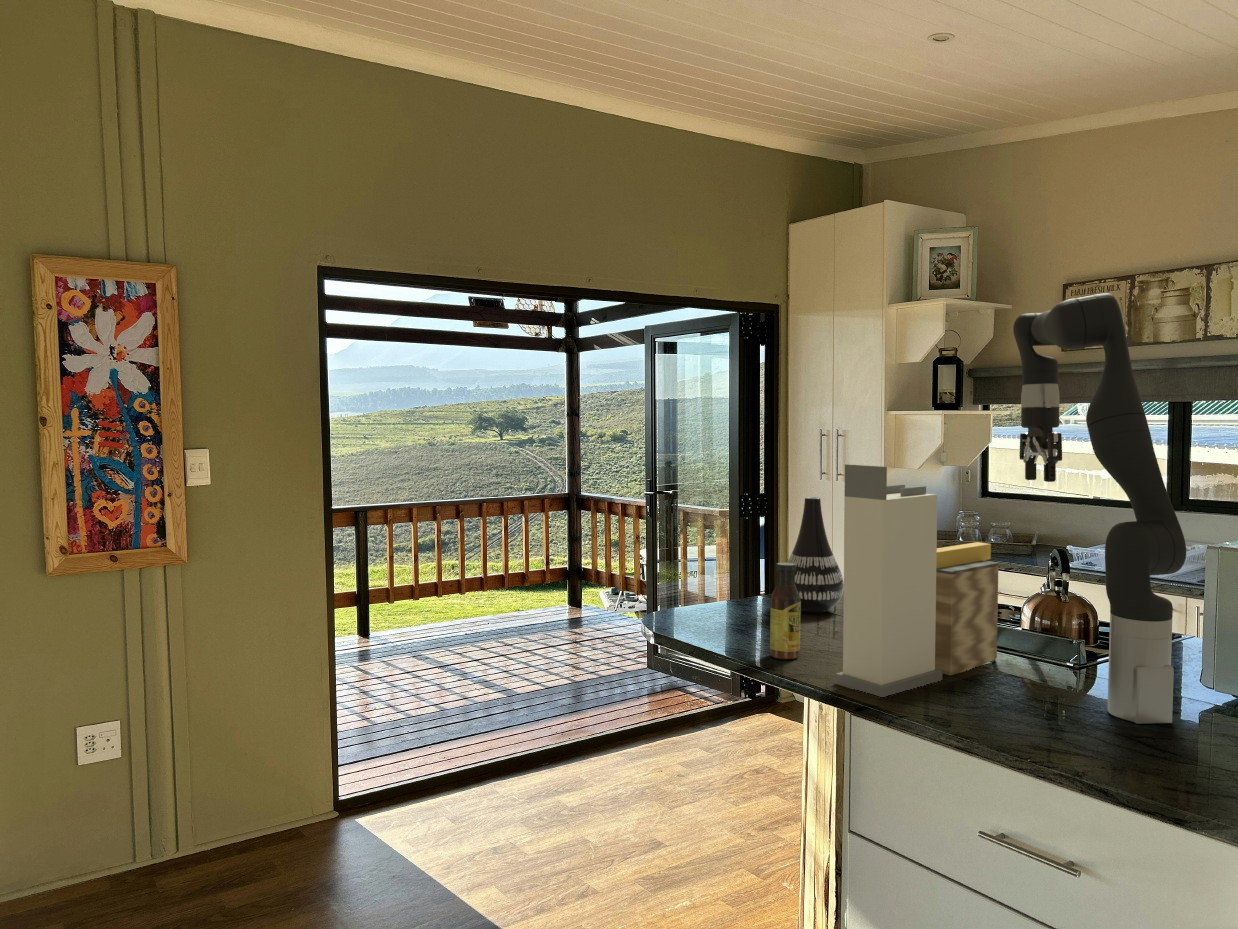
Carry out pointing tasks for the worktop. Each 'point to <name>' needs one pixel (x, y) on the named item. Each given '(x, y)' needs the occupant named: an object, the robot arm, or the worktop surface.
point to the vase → (815, 563)
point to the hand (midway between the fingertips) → (1040, 480)
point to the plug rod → (962, 554)
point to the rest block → (966, 616)
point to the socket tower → (888, 584)
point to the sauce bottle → (785, 614)
